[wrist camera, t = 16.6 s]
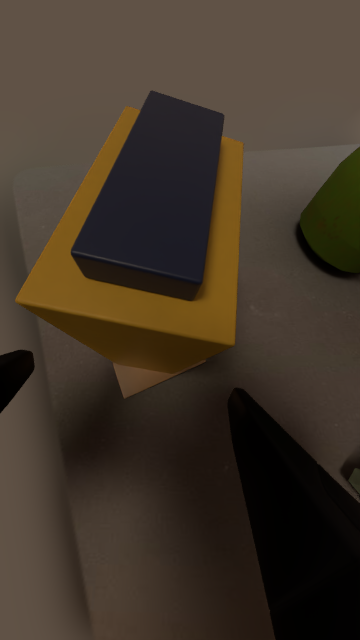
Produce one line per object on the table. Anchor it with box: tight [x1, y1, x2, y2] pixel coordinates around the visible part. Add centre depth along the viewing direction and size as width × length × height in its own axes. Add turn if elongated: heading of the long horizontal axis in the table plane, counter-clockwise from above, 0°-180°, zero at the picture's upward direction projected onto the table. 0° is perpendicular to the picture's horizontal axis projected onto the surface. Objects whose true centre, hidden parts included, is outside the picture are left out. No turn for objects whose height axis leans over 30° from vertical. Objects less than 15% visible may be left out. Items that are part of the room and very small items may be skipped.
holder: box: [15, 91, 244, 374], centre depth 10 cm, size 8×4×12 cm, turn 171°
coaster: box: [112, 360, 206, 399], centre depth 15 cm, size 7×7×1 cm
